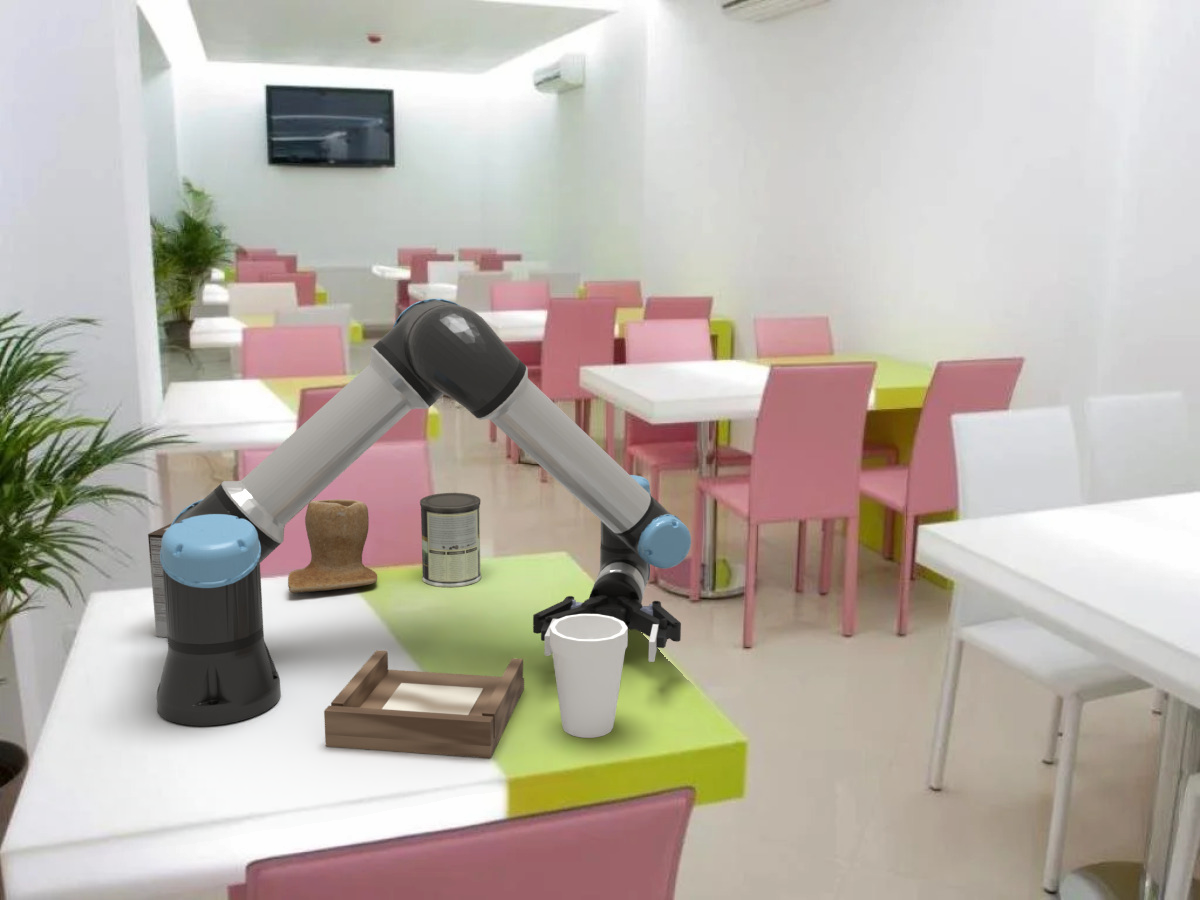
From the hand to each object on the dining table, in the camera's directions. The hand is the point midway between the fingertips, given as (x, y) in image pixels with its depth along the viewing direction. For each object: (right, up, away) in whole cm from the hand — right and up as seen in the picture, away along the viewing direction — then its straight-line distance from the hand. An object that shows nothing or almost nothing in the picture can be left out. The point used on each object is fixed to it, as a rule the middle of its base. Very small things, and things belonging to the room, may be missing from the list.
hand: (599, 649), depth 146 cm
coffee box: (-62, -2, +25) cm, 67 cm away
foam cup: (-1, -9, -6) cm, 11 cm away
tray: (-21, -8, -4) cm, 23 cm away
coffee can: (-26, +3, +50) cm, 57 cm away
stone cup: (-46, +2, +46) cm, 65 cm away
